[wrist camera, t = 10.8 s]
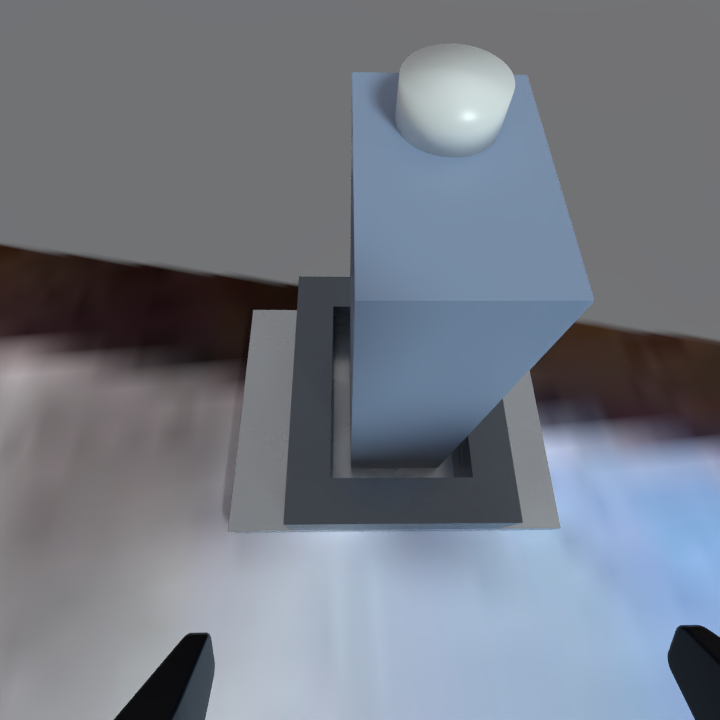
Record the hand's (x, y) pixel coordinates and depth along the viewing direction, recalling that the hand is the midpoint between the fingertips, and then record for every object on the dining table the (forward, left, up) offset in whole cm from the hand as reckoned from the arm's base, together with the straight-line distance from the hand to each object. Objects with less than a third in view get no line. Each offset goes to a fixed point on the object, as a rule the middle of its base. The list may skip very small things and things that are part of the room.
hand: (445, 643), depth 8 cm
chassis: (+4, +6, -9) cm, 12 cm away
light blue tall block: (+4, +6, -8) cm, 11 cm away
